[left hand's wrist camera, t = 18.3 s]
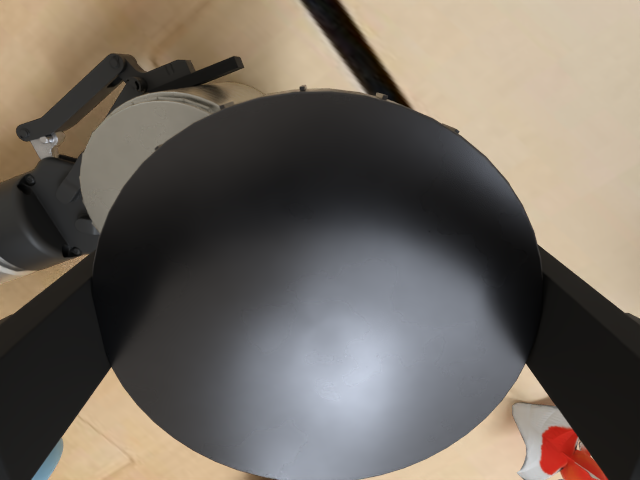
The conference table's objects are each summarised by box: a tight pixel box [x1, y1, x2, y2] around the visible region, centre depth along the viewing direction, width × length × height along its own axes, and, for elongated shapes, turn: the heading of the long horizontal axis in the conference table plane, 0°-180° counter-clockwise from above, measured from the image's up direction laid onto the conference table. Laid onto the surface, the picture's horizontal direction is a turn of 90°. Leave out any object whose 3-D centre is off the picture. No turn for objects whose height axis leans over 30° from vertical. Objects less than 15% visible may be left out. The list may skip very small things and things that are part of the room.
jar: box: [79, 82, 264, 233], centre depth 30 cm, size 10×10×18 cm
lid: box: [92, 85, 543, 480], centre depth 11 cm, size 11×11×2 cm
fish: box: [512, 403, 608, 480], centre depth 49 cm, size 11×16×10 cm
